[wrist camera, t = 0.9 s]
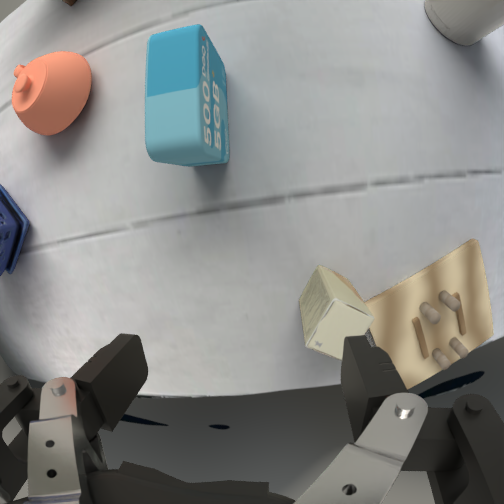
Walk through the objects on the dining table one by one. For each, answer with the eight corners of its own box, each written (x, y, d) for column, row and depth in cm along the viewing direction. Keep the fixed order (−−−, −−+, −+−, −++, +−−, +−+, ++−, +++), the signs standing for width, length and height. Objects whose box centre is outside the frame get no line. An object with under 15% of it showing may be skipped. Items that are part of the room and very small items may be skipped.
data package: (230, 164, 32) (201, 153, 20) (191, 167, 32) (144, 161, 21) (225, 66, 29) (198, 17, 17) (188, 72, 30) (147, 29, 18)
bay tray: (472, 238, 30) (493, 246, 25) (488, 330, 33) (505, 345, 28) (359, 304, 34) (369, 323, 29) (392, 389, 36) (402, 410, 31)
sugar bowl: (65, 152, 33) (14, 150, 23) (27, 108, 32) (-18, 100, 22) (115, 79, 30) (69, 56, 20) (68, 44, 29) (27, 24, 19)
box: (328, 314, 34) (343, 366, 24) (297, 299, 34) (302, 349, 24) (350, 277, 33) (377, 318, 22) (318, 261, 33) (334, 297, 22)
